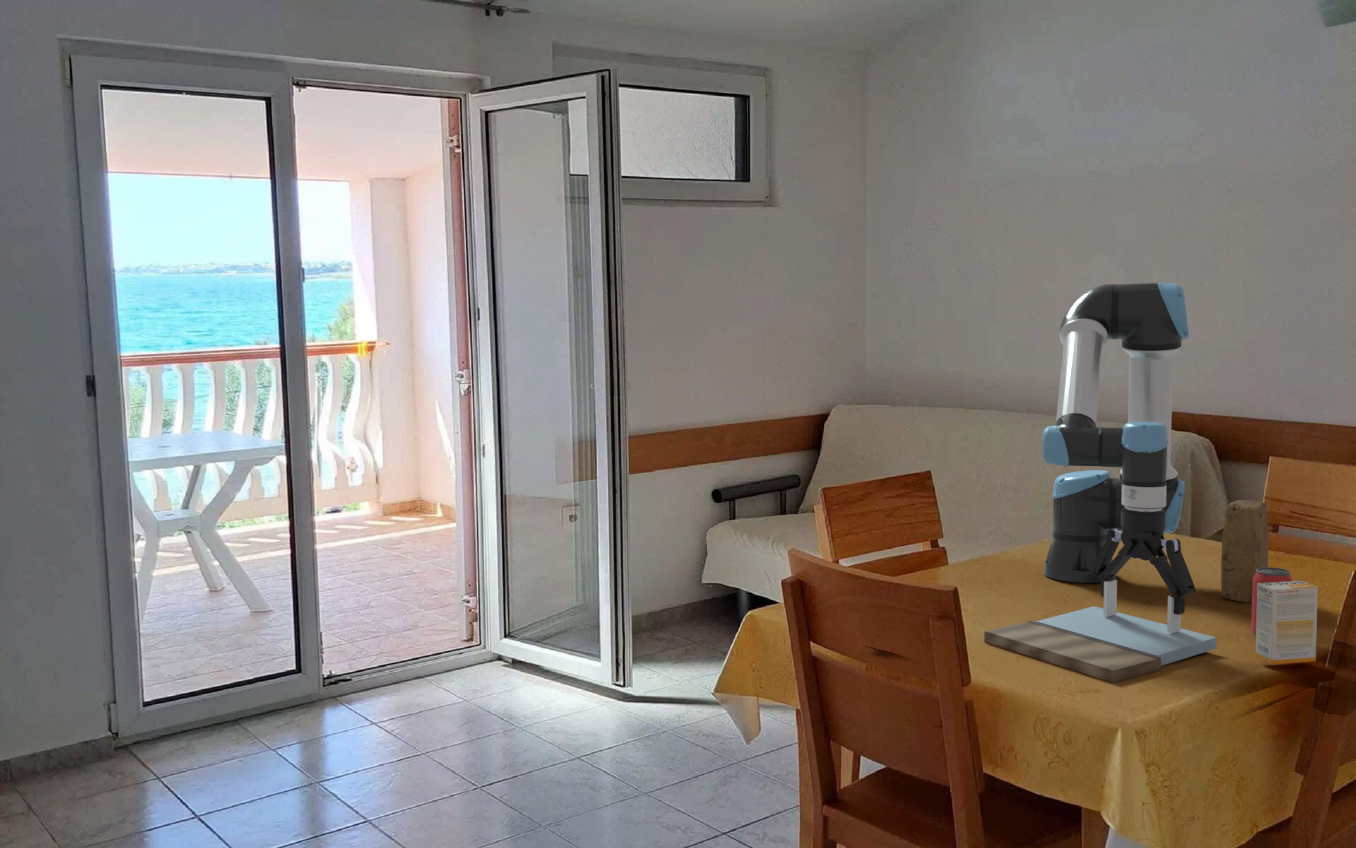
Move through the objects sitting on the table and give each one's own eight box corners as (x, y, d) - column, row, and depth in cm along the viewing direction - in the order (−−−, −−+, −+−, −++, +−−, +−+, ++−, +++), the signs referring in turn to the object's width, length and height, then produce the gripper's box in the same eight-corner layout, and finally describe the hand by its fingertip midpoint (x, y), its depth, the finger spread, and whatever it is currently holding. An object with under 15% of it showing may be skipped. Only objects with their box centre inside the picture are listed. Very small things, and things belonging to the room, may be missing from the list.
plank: (1036, 631, 218) (1036, 621, 217) (1094, 616, 226) (1093, 606, 226) (1156, 667, 195) (1157, 655, 195) (1216, 648, 204) (1216, 637, 203)
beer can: (1289, 641, 209) (1292, 576, 208) (1249, 637, 213) (1251, 572, 211) (1292, 633, 215) (1295, 568, 213) (1253, 628, 218) (1255, 565, 217)
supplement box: (1298, 654, 202) (1300, 579, 200) (1316, 662, 197) (1319, 586, 196) (1253, 656, 201) (1255, 582, 199) (1270, 665, 196) (1273, 588, 195)
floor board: (984, 641, 212) (984, 630, 212) (1030, 631, 218) (1030, 620, 218) (1112, 682, 188) (1113, 670, 188) (1160, 669, 194) (1161, 657, 194)
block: (1256, 605, 234) (1260, 507, 232) (1217, 600, 239) (1220, 503, 237) (1270, 595, 242) (1274, 499, 240) (1232, 590, 247) (1235, 496, 245)
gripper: (1073, 501, 219) (1071, 611, 221) (1191, 519, 198) (1189, 642, 200) (1100, 497, 223) (1098, 606, 225) (1219, 515, 202) (1216, 635, 204)
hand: (1141, 623), depth 213 cm, fingers open, 13 cm apart
